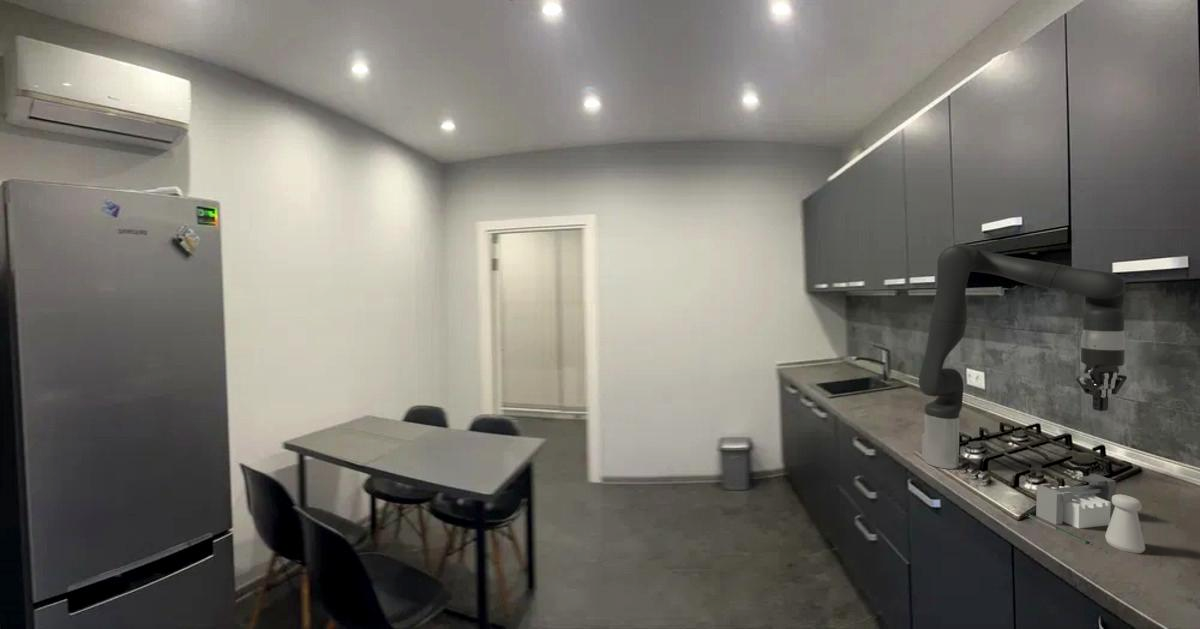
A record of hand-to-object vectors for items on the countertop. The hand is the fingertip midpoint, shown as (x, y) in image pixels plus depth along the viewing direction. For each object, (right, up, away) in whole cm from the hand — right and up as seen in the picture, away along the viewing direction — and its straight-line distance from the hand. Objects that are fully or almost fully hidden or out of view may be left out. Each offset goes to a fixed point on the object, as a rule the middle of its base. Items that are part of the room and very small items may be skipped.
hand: (1100, 410), depth 114 cm
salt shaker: (-15, -29, -17) cm, 37 cm away
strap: (-13, -20, -5) cm, 25 cm away
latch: (-6, -26, -4) cm, 27 cm away
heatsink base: (-11, -28, -5) cm, 30 cm away
